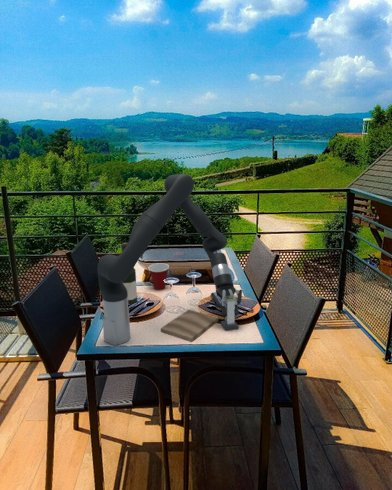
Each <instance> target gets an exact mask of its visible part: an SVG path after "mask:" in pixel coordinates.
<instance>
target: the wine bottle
mask: <svg viewBox="0 0 392 490" xmlns="http://www.w3.org/2000/svg"><path fill="white" fill-rule="evenodd" d="M127 244H128V242H122V244H121V252H122V251H123V250H124V249H125V247H126V246H127ZM136 274H137V273H136V268H135V267H134V268H133V269H132V271H131V273H130V274H129V276H128V277H127V278H126V279H125V280H124V281H123V284H124V286H125V287H126V289H127V292H128V305H129V304H130V305H131V304H134V303H136V302H137V303H138V292H137V275H136Z"/></svg>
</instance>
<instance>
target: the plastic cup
mask: <svg viewBox="0 0 392 490" xmlns="http://www.w3.org/2000/svg"><path fill="white" fill-rule="evenodd" d="M147 269H148V271H149V273H150V276H151V277H150V278H151V281H152V285H153V289H154V290H157V291H162V290H165V289H166V285H167V282H166V283H164V281H163V280H164V279H166V278H167V277H168V272H169V269H170V265H169V264H168V263H163V262H160V263H159V262H156V263H153V264H150V265H149V266H148V268H147ZM167 279H168V278H167ZM167 279H166V280H167Z"/></svg>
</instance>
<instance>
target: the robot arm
mask: <svg viewBox="0 0 392 490" xmlns="http://www.w3.org/2000/svg"><path fill="white" fill-rule="evenodd" d="M163 186H164V190H165V192H166V193H165V195H164V196H163V197H161V199H159V200H158V201H157V202H155V203H154V204H152V205H151V206H150V207H148V208H147V209H145V211H144V212H143V213H142V214H141V215H140V216H139V218H138V219H137V220H136V221H135V223H134V225H133V226H132V230H131V233H130V237H129V240H128V242H127V243H128V244H127V246H126V247H125V249H124V250H123V251H122V250H121V252H120V254H119V255H115V254H111V253H110V254H106V255H103V256H102V257H101V258H100V259H99V261H98V263H97V268H96V269H97V278H98V286H99V291H100V294H101V297H102V306H103V316H104V317H103V318H102V319H101V320H102V330H103V331H102V332H103V341H104V342H105V343H107V344H110V345H112V346H117V345H121V344H122V345H123V344H125V343H127V342H128V341H130V339H131V323H130V311H129V310H130V308H128V292H127V289H126V287H125V286H124V284H123V281H124V280H125V279H126V278H127V277H128V276H129V274H130V273H131V271H132V269H133V268H134V269H135V266H136V265H137V263H138V262H139V260H140V258H141V257H142V256H143V254H144V252H146V249H147V248H148V247H149V246H150V244H151V243H152V242H153V240H154V239H155V238H156V237H157V235H159V233H160V232H161V230H162V229H163V227H164V226H165V224H166V223H167V222H168V221H169V219H171V217H172V216H173V214H174V213H175V211H176V210H177V209H179V208H180V209H181V211H182V212H183V213H184V214H185V216H186V217H187V218H188V219H189V221H190V222H191V224H192V225H193V227H194V229H195V230H196V231H197V233H198V235H199V236H200V237H202V238H204V239H203V241H202V247H203V250H204V252H205V253H206V256H208V259H209V262H210V265H211V271H212V272H211V274H212V278H213V282H214V286H215V292H211V293H210V295H209V297H210V299H211V300H212V302H213V304H214V305H215V307H216V308H220V309H221V312H222V316H224V318H225V317H227V310H226V306H225V299H224V296H230V295H233V296H234V297H235V295H236V296H237V297H236V298H237V299H236V301H235V314H234V317H235V316H238V315H239V307H238V306H240V304H241V303H242V297H243V289H236V287H235V286H234V281H233V278H232V273H231V270H230V267H229V264H228V260H227V257H226V254H225V253H223V252H219V251H220V250H223V249H224V248H226V246H227V239H226V237H225V235H224V234H223V233H222V232H220V231H219V230H218V229H217V228H216V227H215V226H214V225H213V224H212V221H211V220H210V219H209V217H208V215H207V214H206V213H205V212H204V211H203V209H201V208H200V207H199V206H198V205H197V204H196V203H195V202H194V200H192V199H191V198H190V195H191V194H192V193H193V190H194V188H195V182H194V179H193V177H192V176H191V175H189V174H186V173H176V174H170V175H168V176H167V177H166V178H165V180H164V185H163ZM205 237H206V238H205ZM218 298H220V301H219V299H218Z"/></svg>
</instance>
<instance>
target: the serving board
mask: <svg viewBox="0 0 392 490" xmlns="http://www.w3.org/2000/svg"><path fill="white" fill-rule="evenodd" d="M216 317H217V316H214V317H213V315H209V314H205V313H202V312H199V311H195V310H193V309H192V310H191V309H188V310H186V311H185V312H183V313H181V314H180V315H179V316H177V317H175V318H174V319H171V321H169V322H168V323H166V324H165V325H163V326H162V327H160V332H161V333H165V334H166V335H170V336H174V337H176V338H179V339H182V340H185V341H189V342H191V343H192V342H193V341H195V340H197V338H198V337H200V336H201V335H202V334H204V333H205V332H206V331H208V330H209V329H210V328H211V327H212V326H214V325H216V324H217V323H218V322H219V317H217V318H216Z"/></svg>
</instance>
